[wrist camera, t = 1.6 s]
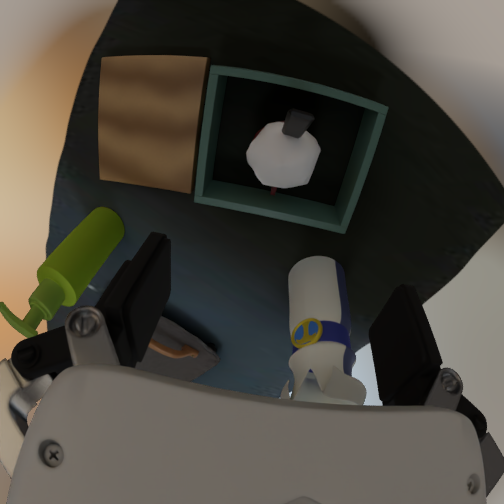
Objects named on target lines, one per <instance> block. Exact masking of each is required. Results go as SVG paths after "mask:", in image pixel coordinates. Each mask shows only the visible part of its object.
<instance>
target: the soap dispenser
mask: <svg viewBox="0 0 504 504" xmlns="http://www.w3.org/2000/svg"><path fill="white" fill-rule="evenodd" d="M123 236H124V225H123V222H122V220H121V218H120V217H119V216H118V215H117V214H116V213H115V212H114V211H113V210H111V209H109V208H106V207H98V208H96V209H94V210H93V211H92V212H91V213H90V214H89V215H88V216H87V217H86V218H85V219H84V220H83V221H82V222H81V223H80V224H79V225H78V226H77V227H76V228H75V229H74V230H73V231H72V232H71V233H70V234H69V235H68V236H67V237H66V238H65V239H64V241H63V242H62V243H61V244H60V245H59V246H58V247H57V248H56V249H55V250H54V251H53V252H52V254H51V255H50V256H49V257H48V258H47V259H46V260H45V262H44V263H43V264H42V265H41V266H40V267H39V269H38V270H37V278H38V281H39V286H38V287H37V288H36V290H35V291H34V292H33V293H32V295H31V296H30V298H29V304H30V307H31V309H30V311H29V312H28V313H27V315H26V316H25V318H24V319H23V321H22V320H20V319H19V318H18V317H16V316H15V315H14V314H13V313H12V312H11V311H10V310H9V309H8V308H7V307H6V305H5V304H4V303H3V302H0V312H1V313H2V315H3V316H4V318H5V319H6V320H7V321H8V322H9V324H10V325H11V326H12V327H13V328H14V329H16V330H17V331H18V332H19V333H21V334H22V335H24V336H25V337H27V338H30V337H33V336H36V335H38V332H37V331H36V328H37V327H38V325H39V324H40V322H41V321H42V319H44V320H51V319H52V318H53V316H54V315H55V313H56V312H57V310H58V309H59V307H60V306H61V305H64V306H73V305H74V304H75V303H76V302H77V300H78V299H79V297H80V296H81V294H82V293H83V291H84V290H85V288H86V287H87V285H88V284H89V283H90V281H91V280H92V278H93V277H94V276H95V274H96V273H97V271H98V270H99V269H100V267H101V266H102V264H103V263H104V262H105V260H106V259H107V258H108V256H109V255H110V254H111V252H112V251H113V250H114V248H115V247H116V246H117V244H118V243H119V242H120V241H121V239H122V238H123Z"/></svg>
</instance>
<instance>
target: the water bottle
mask: <svg viewBox="0 0 504 504" xmlns="http://www.w3.org/2000/svg"><path fill="white" fill-rule="evenodd" d="M288 283H289V302H290V319H289V321H290V334H291V341H292V343H293V353H292V356H291V357H290V359H289V367H290V369H291V371H292V372H293V374H294V379H295V382H294V387H293V391H292V394H291V397H290V396H289V391H288V383H289V380H288V381H287V383H286V384H285V386H284V388H283V390H282V392H281V397H280V399H288V400H296V401H306V402H316V403H329V404H344V405H363V404H364V401H365V398H366V388H365V386H364V385H363V384H362V382H360V381H359V380H357V379H356V378H353V377H352V375H351V374H352V373H351V372H352V367H353V366H354V364H355V362H356V355H355V353H354V351H353V350H352V349H351V345H350V338H349V336H350V332H351V317H350V310H349V304H348V298H347V290H346V282H345V273H344V270H343V268H342V266H341V265H340V264H339V263H338V262H337V261H335V260H334V259H331V258H329V257H325V256H312V257H308V258H305V259H303V260H301V261H299V262H298V263H296V264H295V265H294V266H293V268H292V269H291V271H290V273H289V277H288Z"/></svg>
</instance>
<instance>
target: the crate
mask: <svg viewBox="0 0 504 504" xmlns="http://www.w3.org/2000/svg"><path fill="white" fill-rule="evenodd" d="M228 76H233V77H240V78H246V79H253V80H258V81H264V82H269V83H275V84H279V85H284V86H289V87H293V88H298V89H302V90H306V91H310V92H314V93H318V94H322V95H325V96H329V97H332V98H336V99H339V100H343V101H346V102H349V103H352V104H355V105H358V106H362V107H364V108H365V110H364V114H363V117H362V121H361V124H360V128H359V131H358V134H357V138H356V141H355V144H354V147H353V151H352V154H351V157H350V160H349V163H348V166H347V170H346V173H345V176H344V179H343V182H342V185H341V188H340V191H339V194H338V197H337V200H336V203H335V205H334V206H332V205H328V204H324V203H320V202H316V201H312V200H307V199H303V198H299V197H294V196H290V195H286V194H281V193H275V196H274V195H270V193H271V191H267V190H262V189H258V188H253V187H248V186H243V185H238V184H232V183H227V182H222V181H216V180H212V179H213V171H214V164H215V156H216V149H217V142H218V135H219V128H220V121H221V115H222V108H223V102H224V96H225V90H226V84H227V78H228ZM387 111H388V107H387V106H385V105H382V104H380V103H377V102H375V101H372V100H370V99H367V98H364V97H361V96H358V95H355V94H352V93H349V92H345V91H342V90H339V89H335V88H332V87H328V86H325V85H321V84H317V83H313V82H309V81H305V80H301V79H297V78H293V77H288V76H283V75H278V74H273V73H268V72H262V71H257V70H250V69H244V68H237V67H229V66H218V65H211V68H210V75H209V81H208V87H207V94H206V101H205V108H204V115H203V123H202V131H201V139H200V148H199V157H198V166H197V176H196V187H195V198H194V202H196V203H202V204H207V205H212V206H217V207H223V208H228V209H233V210H238V211H243V212H248V213H252V214H257V215H262V216H267V217H272V218H276V219H281V220H286V221H290V222H295V223H299V224H304V225H308V226H313V227H317V228H321V229H326V230H330V231H334V232H338V233H343V234H345V232H346V229H347V227H348V224H349V221H350V219H351V216H352V214H353V211H354V208H355V206H356V203H357V201H358V198H359V195H360V192H361V190H362V187H363V184H364V181H365V179H366V176H367V173H368V170H369V167H370V164H371V161H372V158H373V155H374V152H375V149H376V146H377V143H378V140H379V137H380V134H381V131H382V127H383V124H384V121H385V117H386V114H387Z"/></svg>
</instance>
